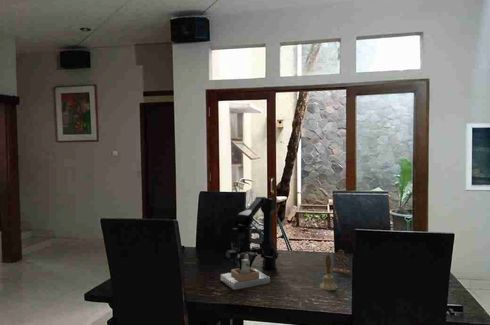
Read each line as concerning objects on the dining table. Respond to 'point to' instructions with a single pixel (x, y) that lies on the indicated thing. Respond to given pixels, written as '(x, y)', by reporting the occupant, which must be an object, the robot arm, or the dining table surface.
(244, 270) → the spout can
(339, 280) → the dining table surface
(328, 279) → the hand bell
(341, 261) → the gingerbread man figurine
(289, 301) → the dining table surface
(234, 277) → the grey board with frame
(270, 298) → the dining table surface
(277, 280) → the dining table surface
